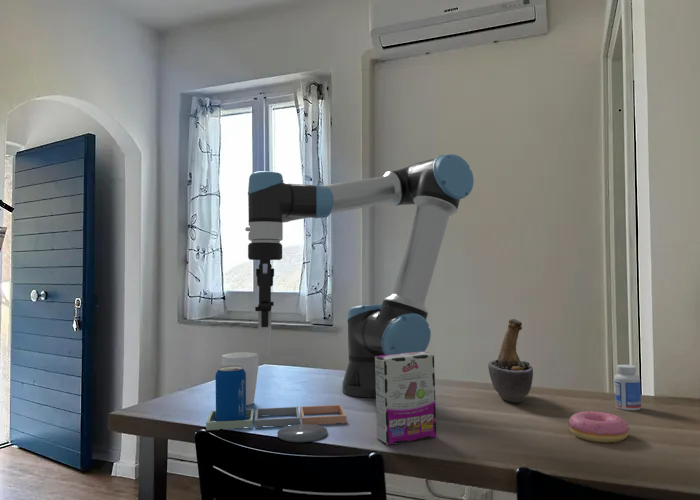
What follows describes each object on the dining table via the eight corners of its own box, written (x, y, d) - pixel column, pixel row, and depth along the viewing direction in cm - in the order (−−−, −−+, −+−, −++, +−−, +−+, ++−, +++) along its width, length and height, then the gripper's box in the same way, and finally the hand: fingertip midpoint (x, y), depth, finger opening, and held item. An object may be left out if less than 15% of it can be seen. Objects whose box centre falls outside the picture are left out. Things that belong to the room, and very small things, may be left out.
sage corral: (253, 415, 127) (253, 408, 127) (252, 428, 118) (252, 420, 118) (211, 417, 126) (211, 410, 126) (206, 430, 117) (206, 422, 117)
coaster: (324, 425, 119) (324, 423, 119) (329, 440, 109) (329, 437, 109) (277, 428, 117) (277, 425, 118) (277, 443, 108) (277, 440, 108)
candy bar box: (424, 431, 114) (422, 350, 115) (437, 438, 110) (435, 354, 110) (374, 438, 110) (373, 354, 110) (386, 446, 105) (385, 358, 106)
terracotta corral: (341, 411, 130) (341, 404, 130) (346, 423, 121) (346, 415, 121) (300, 413, 129) (300, 406, 129) (302, 425, 119) (302, 417, 119)
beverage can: (231, 428, 118) (231, 371, 118) (209, 424, 121) (209, 368, 121) (252, 421, 123) (251, 366, 123) (230, 417, 127) (230, 364, 127)
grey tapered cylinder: (250, 408, 134) (250, 358, 134) (215, 407, 136) (215, 357, 136) (264, 399, 143) (263, 352, 143) (230, 398, 144) (230, 351, 145)
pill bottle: (644, 407, 130) (643, 365, 131) (637, 412, 127) (636, 369, 127) (619, 403, 134) (618, 363, 134) (611, 408, 130) (610, 366, 130)
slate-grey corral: (298, 413, 129) (297, 406, 129) (299, 425, 119) (299, 418, 119) (256, 415, 127) (256, 408, 128) (254, 427, 118) (254, 420, 118)
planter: (524, 410, 129) (522, 323, 129) (465, 398, 142) (463, 319, 142) (556, 399, 139) (555, 319, 139) (498, 389, 151) (497, 314, 152)
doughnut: (642, 442, 106) (642, 420, 107) (594, 448, 103) (594, 425, 103) (601, 426, 117) (601, 406, 117) (556, 431, 114) (556, 410, 114)
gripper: (249, 244, 136) (249, 332, 135) (245, 239, 111) (245, 346, 110) (281, 244, 137) (280, 331, 136) (283, 239, 112) (283, 346, 112)
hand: (264, 338), depth 123 cm, fingers open, 13 cm apart
